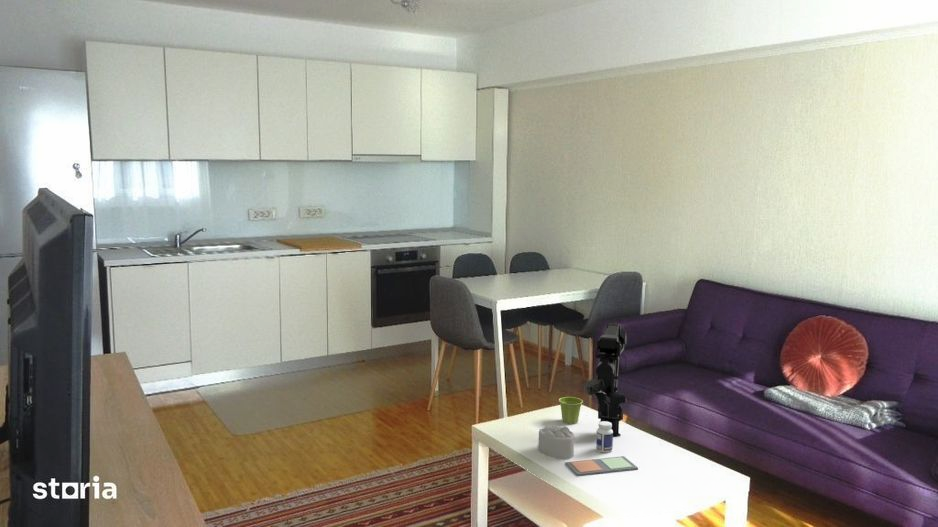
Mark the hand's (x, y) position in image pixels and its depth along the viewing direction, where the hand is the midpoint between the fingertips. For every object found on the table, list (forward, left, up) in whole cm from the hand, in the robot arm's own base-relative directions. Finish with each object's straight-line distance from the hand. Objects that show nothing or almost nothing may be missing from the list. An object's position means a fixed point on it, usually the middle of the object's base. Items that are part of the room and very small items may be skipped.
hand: (605, 414), depth 253 cm
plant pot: (0, -30, -13) cm, 33 cm away
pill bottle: (0, 0, -13) cm, 13 cm away
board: (+7, +13, -13) cm, 20 cm away
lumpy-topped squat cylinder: (+17, -2, -13) cm, 22 cm away
